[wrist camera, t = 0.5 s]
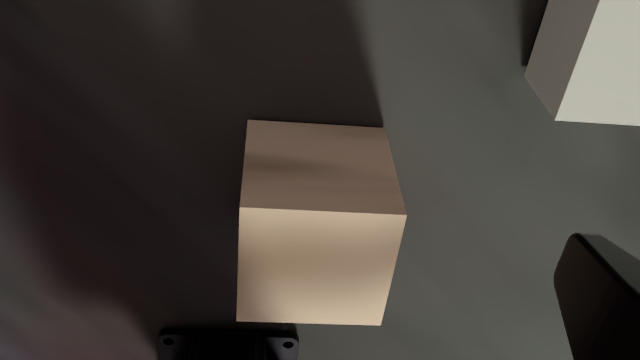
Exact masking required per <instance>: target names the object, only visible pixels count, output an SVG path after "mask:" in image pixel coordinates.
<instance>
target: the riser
mask: <svg viewBox="0 0 640 360" xmlns="http://www.w3.org/2000/svg"><path fill="white" fill-rule="evenodd" d="M524 77H525V78H526V80H527V81H528V83H529V84H530V86H531V87H532V88H533V90H534V91H535V93H536V94H537V96H538V97H539V98H540V100H541V101H542V103H543V104H544V106H545V107H546V109H547V110H548V111H549V113H550V114H551V116H552V117H553V119H554V120H557V121H573V122H588V123H604V124H619V125H635V126H640V0H549V1H548V4H547V7H546V10H545V13H544V16H543V19H542V22H541V25H540V29H539V32H538V35H537V38H536V41H535V44H534V47H533V50H532V53H531V56H530V59H529V62H528V65H527V69H526V72H525V75H524Z"/></svg>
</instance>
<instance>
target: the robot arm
mask: <svg viewBox="0 0 640 360" xmlns="http://www.w3.org/2000/svg"><path fill="white" fill-rule="evenodd" d="M554 288H555V292H556V295H557V299H558V303H559V307H560V310H561V314H562V318H563V321H564V325H565V329H566V333H567V336H568V340H569V344H570V348H571V351H572V355H573V359H574V360H640V260H639V259H638V258H636V257H634V256H633V255H631V254H630V253H628V252H627V251H625V250H624V249H622V248H621V247H619V246H617V245H616V244H614V243H613V242H611V241H610V240H608V239H607V238H605V237H604V236H602V235H600V234H595V233H575V234H572V235H571V236H570V237H569V238H568V240H567V242H566V245H565V247H564V250H563V252H562V255H561V257H560V260H559V262H558V264H557V267H556V269H555V273H554ZM287 341H289V342H287ZM298 348H299V337H298V335H297V334H296V333H294V332H291V331H268V330H233V329H199V328H164V329H162V330H161V331H160V333H159V337H158V351H159V360H297V357H298Z"/></svg>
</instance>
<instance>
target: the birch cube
mask: <svg viewBox="0 0 640 360" xmlns="http://www.w3.org/2000/svg"><path fill="white" fill-rule="evenodd" d="M406 217H407V213H406V209H405V205H404V201H403V198H402V194H401V190H400V186H399V182H398V178H397V174H396V170H395V166H394V162H393V158H392V154H391V150H390V146H389V143H388V139H387V135H386V131H385V128H376V127H360V126H343V125H327V124H311V123H294V122H278V121H261V120H248V122H247V133H246V143H245V154H244V165H243V176H242V186H241V197H240V209H239V245H238V281H237V317H236V321H242V322H276V323H311V324H345V325H380V326H381V322H382V318H383V314H384V310H385V306H386V301H387V297H388V293H389V289H390V285H391V280H392V276H393V272H394V268H395V263H396V259H397V255H398V251H399V247H400V242H401V238H402V234H403V230H404V226H405V221H406Z"/></svg>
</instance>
